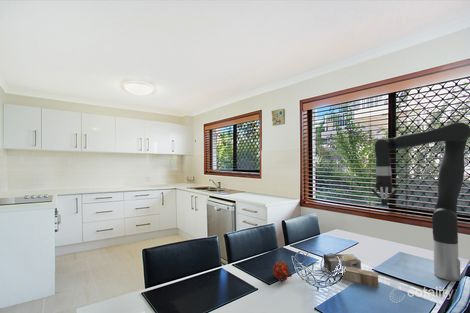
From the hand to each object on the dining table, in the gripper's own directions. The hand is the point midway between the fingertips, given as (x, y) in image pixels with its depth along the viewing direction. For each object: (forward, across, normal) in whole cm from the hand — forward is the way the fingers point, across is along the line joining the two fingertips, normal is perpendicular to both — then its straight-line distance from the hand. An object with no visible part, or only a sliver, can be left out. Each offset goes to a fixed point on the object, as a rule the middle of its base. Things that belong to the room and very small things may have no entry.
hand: (384, 205), depth 137 cm
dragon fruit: (+32, +46, +43) cm, 71 cm away
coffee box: (+29, +14, +15) cm, 35 cm away
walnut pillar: (+30, +5, +29) cm, 42 cm away
